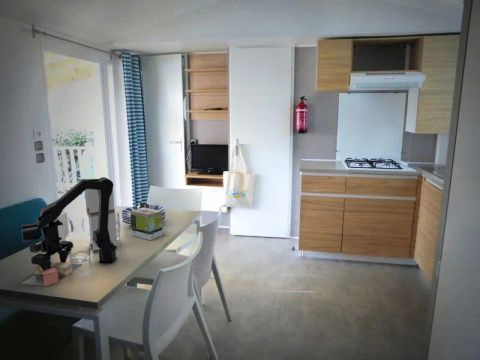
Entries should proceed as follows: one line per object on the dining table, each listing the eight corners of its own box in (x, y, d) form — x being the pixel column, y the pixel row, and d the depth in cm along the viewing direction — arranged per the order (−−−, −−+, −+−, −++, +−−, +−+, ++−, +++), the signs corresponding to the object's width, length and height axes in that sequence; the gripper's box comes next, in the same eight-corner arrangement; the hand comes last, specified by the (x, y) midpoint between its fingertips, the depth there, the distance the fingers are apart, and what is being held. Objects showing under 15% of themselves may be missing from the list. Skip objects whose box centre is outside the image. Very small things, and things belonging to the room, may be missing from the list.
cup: (62, 243, 181) (59, 214, 178) (49, 242, 183) (45, 214, 180) (73, 238, 189) (70, 210, 186) (60, 237, 191) (56, 209, 187)
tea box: (163, 235, 193) (162, 210, 190) (150, 241, 185) (148, 214, 182) (144, 230, 201) (143, 206, 198) (131, 235, 193) (129, 210, 190)
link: (73, 271, 149) (72, 262, 148) (65, 276, 144) (64, 268, 143) (43, 268, 151) (42, 260, 150) (34, 274, 146) (33, 265, 145)
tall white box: (112, 242, 182) (107, 178, 175) (117, 249, 174) (112, 182, 167) (90, 247, 176) (83, 181, 169) (93, 254, 168) (87, 184, 161)
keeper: (58, 284, 139) (57, 271, 138) (45, 288, 136) (43, 274, 135) (56, 280, 142) (54, 267, 141) (42, 283, 139) (41, 270, 138)
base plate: (83, 265, 155) (83, 264, 155) (51, 287, 136) (51, 286, 136) (55, 263, 158) (55, 262, 158) (21, 284, 139) (21, 283, 138)
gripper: (50, 228, 154) (54, 260, 157) (16, 243, 136) (22, 279, 139) (72, 229, 152) (75, 262, 156) (41, 245, 134) (46, 281, 138)
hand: (55, 270), depth 147 cm, fingers open, 9 cm apart
